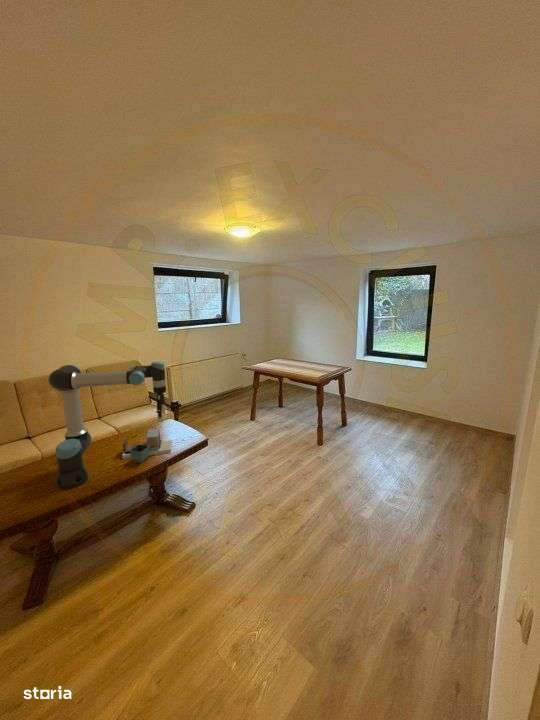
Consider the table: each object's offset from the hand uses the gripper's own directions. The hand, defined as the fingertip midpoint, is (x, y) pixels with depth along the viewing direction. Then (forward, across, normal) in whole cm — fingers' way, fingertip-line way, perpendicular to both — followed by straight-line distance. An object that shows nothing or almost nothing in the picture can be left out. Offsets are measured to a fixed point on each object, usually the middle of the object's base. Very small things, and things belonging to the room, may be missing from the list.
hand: (161, 417), depth 187 cm
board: (+28, +12, +12) cm, 32 cm away
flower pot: (+28, 0, +15) cm, 32 cm away
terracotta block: (+24, +12, +8) cm, 28 cm away
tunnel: (+25, +12, +8) cm, 29 cm away
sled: (+25, +12, +15) cm, 32 cm away
